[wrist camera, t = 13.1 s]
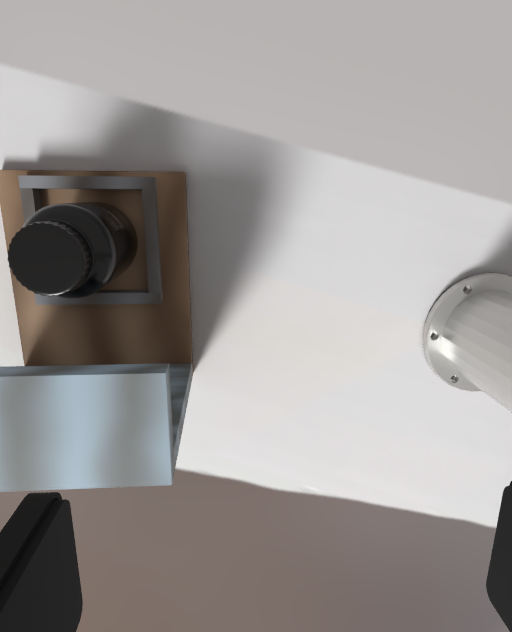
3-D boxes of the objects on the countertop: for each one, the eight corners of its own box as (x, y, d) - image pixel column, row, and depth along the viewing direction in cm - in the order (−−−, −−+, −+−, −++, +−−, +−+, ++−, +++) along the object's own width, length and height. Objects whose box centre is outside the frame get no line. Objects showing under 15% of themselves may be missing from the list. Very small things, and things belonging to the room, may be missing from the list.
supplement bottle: (48, 215, 37) (-32, 222, 25) (122, 191, 37) (74, 187, 25) (81, 288, 39) (19, 325, 27) (150, 265, 39) (118, 292, 27)
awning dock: (185, 172, 38) (153, 150, 21) (192, 373, 43) (171, 484, 26) (1, 170, 37) (-190, 144, 20) (31, 377, 42) (-100, 495, 25)
